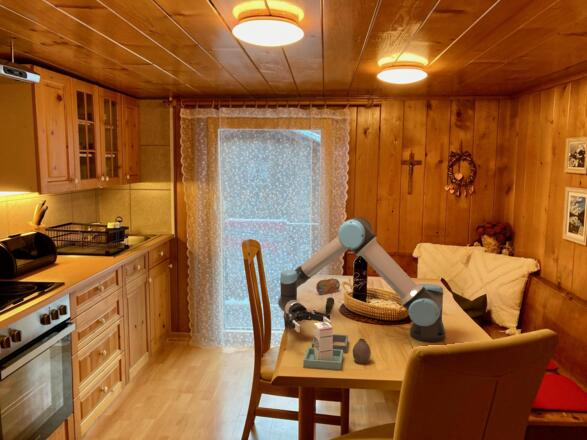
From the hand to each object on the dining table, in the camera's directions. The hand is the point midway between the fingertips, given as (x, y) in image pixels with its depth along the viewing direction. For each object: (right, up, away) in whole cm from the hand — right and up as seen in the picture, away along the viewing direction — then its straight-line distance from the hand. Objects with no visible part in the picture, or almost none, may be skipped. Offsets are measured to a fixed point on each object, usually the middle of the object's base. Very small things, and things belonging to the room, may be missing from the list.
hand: (315, 327), depth 191 cm
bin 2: (+3, -12, -7) cm, 14 cm away
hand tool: (+10, -4, +57) cm, 58 cm away
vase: (+18, -12, -6) cm, 22 cm away
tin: (+11, 0, +87) cm, 87 cm away
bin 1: (+7, -10, +9) cm, 15 cm away
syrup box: (+3, -12, -7) cm, 14 cm away
